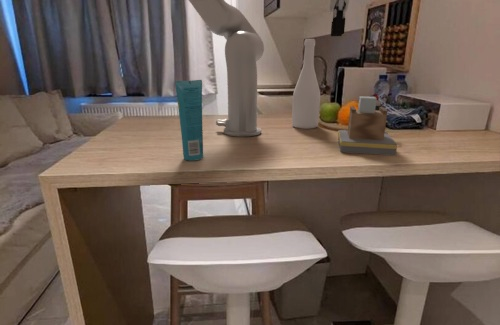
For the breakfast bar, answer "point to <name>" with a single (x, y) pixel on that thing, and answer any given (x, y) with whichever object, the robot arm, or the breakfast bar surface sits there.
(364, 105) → the light grey cube
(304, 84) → the wine bottle
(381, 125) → the brown open box
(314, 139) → the breakfast bar surface
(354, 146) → the dock
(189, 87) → the tube
